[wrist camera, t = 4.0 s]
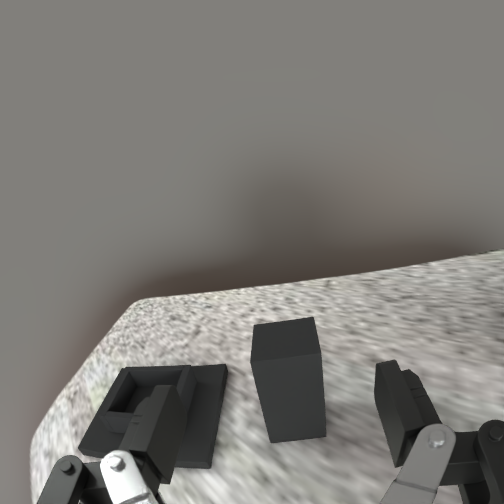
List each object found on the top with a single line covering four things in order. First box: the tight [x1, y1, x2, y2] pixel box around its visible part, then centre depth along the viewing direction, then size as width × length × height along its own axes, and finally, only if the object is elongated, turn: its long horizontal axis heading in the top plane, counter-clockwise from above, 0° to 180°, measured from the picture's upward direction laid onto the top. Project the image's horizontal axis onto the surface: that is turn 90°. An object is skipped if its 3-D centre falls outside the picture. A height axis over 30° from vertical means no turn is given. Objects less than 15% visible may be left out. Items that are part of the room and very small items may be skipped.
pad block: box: [250, 317, 326, 443], centre depth 26 cm, size 5×5×10 cm
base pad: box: [78, 364, 228, 469], centre depth 30 cm, size 14×14×4 cm
